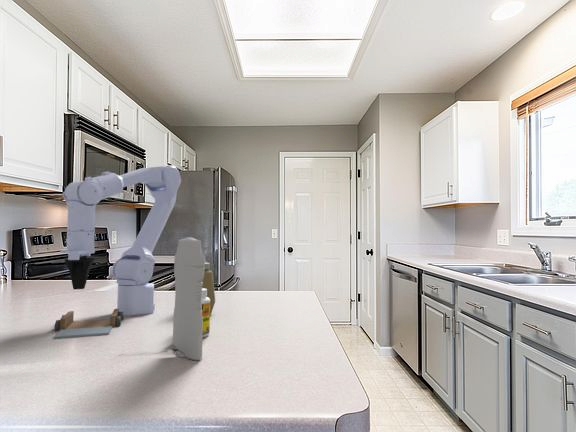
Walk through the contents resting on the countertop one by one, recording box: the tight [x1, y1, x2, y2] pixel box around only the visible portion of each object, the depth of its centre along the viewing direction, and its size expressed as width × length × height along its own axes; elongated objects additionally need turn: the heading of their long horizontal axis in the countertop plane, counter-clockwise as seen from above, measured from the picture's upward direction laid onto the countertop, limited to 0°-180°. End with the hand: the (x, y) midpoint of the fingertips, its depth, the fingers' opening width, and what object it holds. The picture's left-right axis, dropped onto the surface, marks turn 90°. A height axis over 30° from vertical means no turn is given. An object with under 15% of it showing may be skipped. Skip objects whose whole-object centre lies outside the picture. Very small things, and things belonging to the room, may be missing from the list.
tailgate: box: [53, 326, 113, 340], centre depth 77 cm, size 10×1×6 cm
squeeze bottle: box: [201, 249, 216, 315], centre depth 102 cm, size 8×8×18 cm
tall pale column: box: [172, 236, 206, 362], centre depth 69 cm, size 11×4×22 cm, turn 44°
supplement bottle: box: [202, 288, 211, 339], centre depth 81 cm, size 6×6×10 cm
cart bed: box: [53, 308, 124, 332], centre depth 85 cm, size 13×8×4 cm, turn 110°
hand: (79, 288), depth 85 cm, fingers closed
